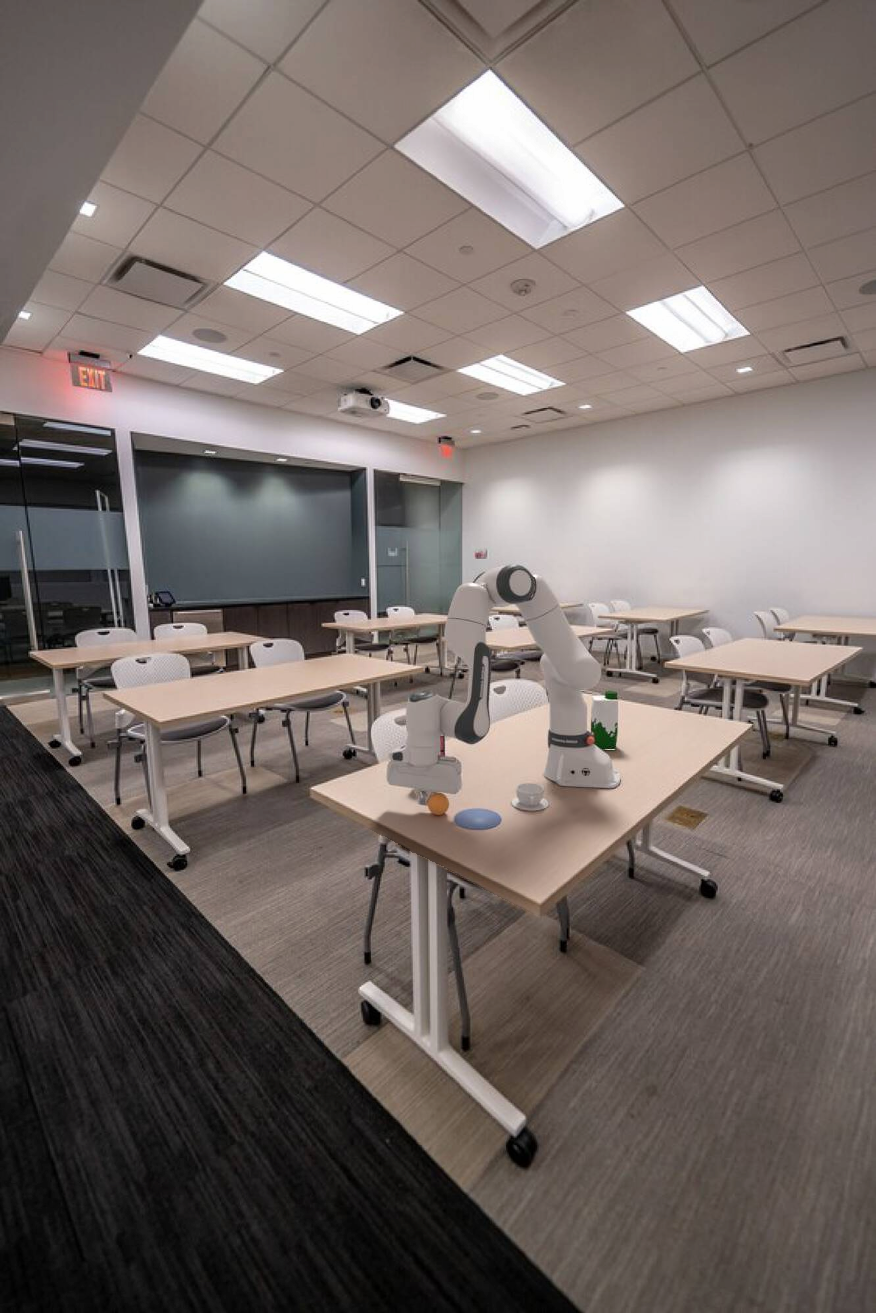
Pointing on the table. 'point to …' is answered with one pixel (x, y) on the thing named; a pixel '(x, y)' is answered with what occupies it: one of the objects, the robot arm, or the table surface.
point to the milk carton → (605, 720)
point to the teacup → (529, 797)
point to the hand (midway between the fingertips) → (424, 804)
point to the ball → (438, 803)
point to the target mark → (477, 819)
